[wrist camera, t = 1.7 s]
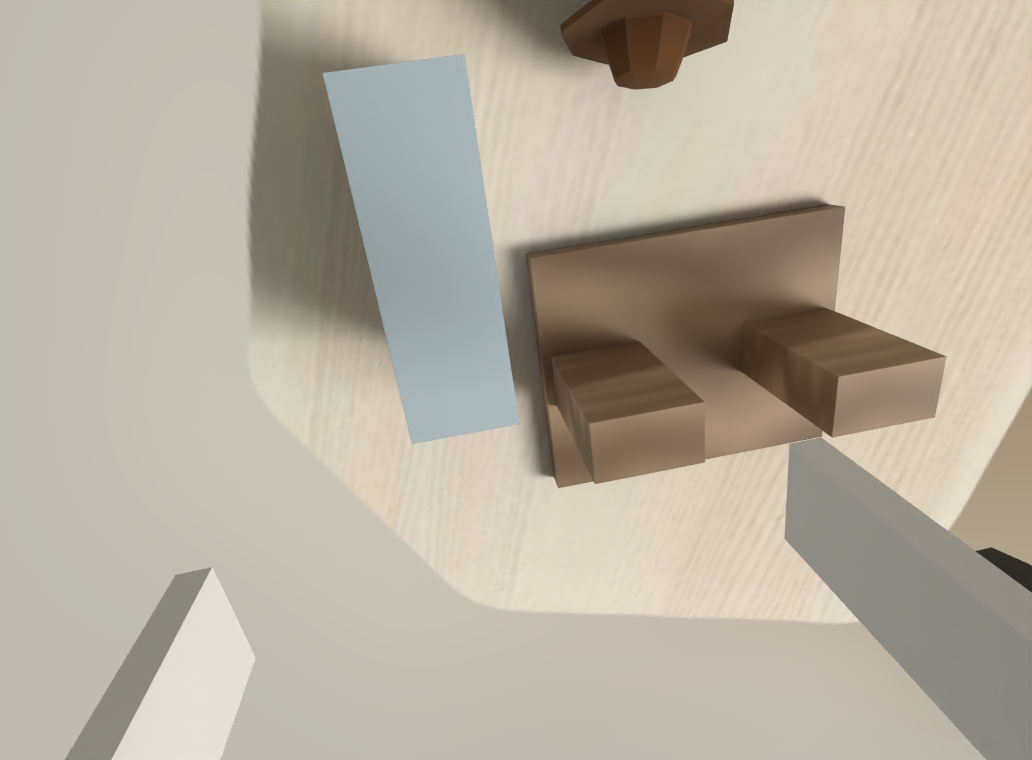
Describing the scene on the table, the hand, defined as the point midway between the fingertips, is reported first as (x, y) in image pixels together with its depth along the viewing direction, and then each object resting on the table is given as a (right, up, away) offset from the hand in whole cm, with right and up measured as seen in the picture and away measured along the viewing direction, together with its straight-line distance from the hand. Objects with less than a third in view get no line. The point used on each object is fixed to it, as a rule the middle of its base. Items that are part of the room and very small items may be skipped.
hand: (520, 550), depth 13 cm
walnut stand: (+10, +6, +20) cm, 23 cm away
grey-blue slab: (-4, +12, +15) cm, 20 cm away
